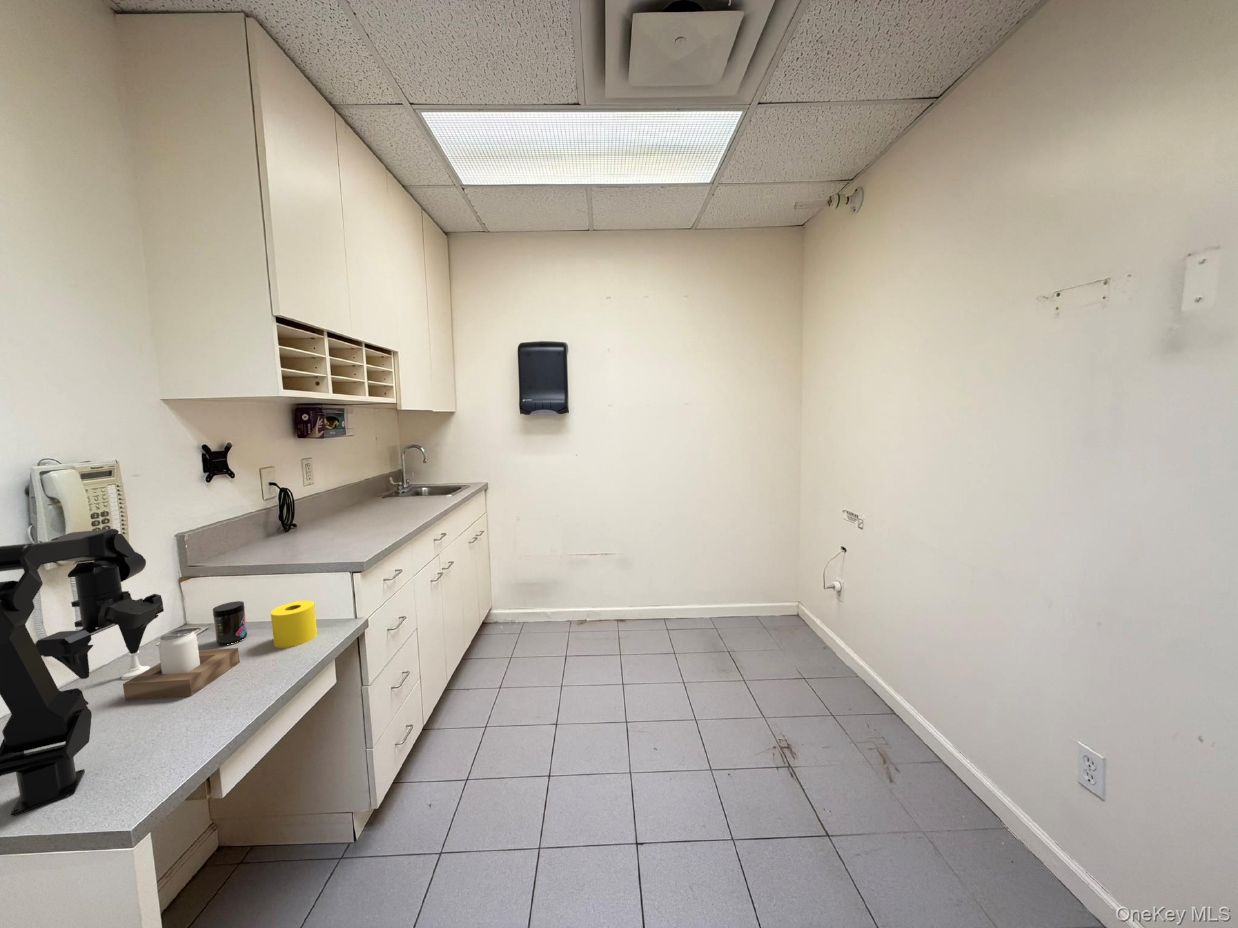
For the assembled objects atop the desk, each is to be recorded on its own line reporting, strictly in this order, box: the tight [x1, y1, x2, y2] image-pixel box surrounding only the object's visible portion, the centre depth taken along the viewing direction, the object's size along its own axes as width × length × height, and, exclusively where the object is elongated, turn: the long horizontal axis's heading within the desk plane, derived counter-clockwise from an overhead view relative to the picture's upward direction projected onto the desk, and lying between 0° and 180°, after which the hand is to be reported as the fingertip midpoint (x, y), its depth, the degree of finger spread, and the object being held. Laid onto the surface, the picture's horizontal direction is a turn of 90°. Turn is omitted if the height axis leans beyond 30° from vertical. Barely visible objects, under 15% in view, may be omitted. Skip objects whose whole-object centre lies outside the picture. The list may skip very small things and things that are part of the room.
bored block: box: [122, 647, 241, 702], centre depth 105 cm, size 14×14×4 cm
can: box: [158, 627, 200, 674], centre depth 104 cm, size 6×6×12 cm
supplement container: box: [212, 600, 248, 646], centre depth 124 cm, size 7×7×10 cm
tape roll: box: [270, 600, 318, 649], centre depth 124 cm, size 10×10×9 cm
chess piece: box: [121, 649, 151, 681], centre depth 108 cm, size 5×5×10 cm
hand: (110, 665), depth 88 cm, fingers open, 9 cm apart
